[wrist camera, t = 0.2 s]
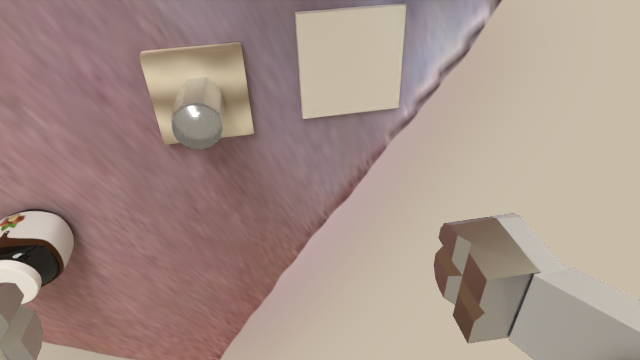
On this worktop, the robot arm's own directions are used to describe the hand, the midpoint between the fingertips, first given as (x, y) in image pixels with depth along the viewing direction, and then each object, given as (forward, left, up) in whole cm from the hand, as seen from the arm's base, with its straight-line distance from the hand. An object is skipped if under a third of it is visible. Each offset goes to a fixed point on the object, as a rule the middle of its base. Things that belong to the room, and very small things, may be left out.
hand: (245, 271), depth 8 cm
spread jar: (+35, -34, -48) cm, 69 cm away
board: (+13, +14, -48) cm, 51 cm away
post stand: (+15, -6, -48) cm, 51 cm away
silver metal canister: (+15, -6, -46) cm, 49 cm away
